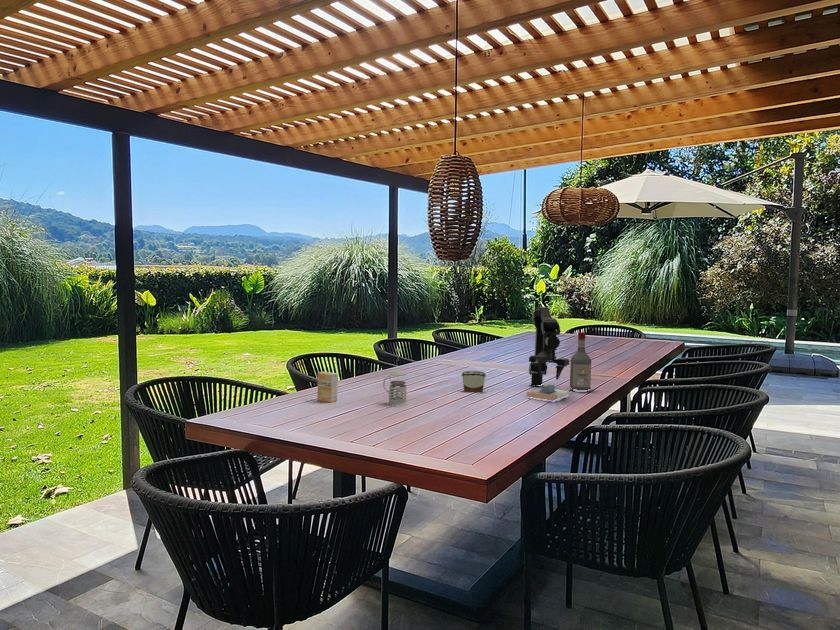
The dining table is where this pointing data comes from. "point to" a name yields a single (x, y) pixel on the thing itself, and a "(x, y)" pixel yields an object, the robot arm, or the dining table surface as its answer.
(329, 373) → the supplement box
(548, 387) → the block
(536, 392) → the chassis plate
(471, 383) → the food container
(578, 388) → the liquor
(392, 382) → the french press
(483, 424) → the dining table surface
